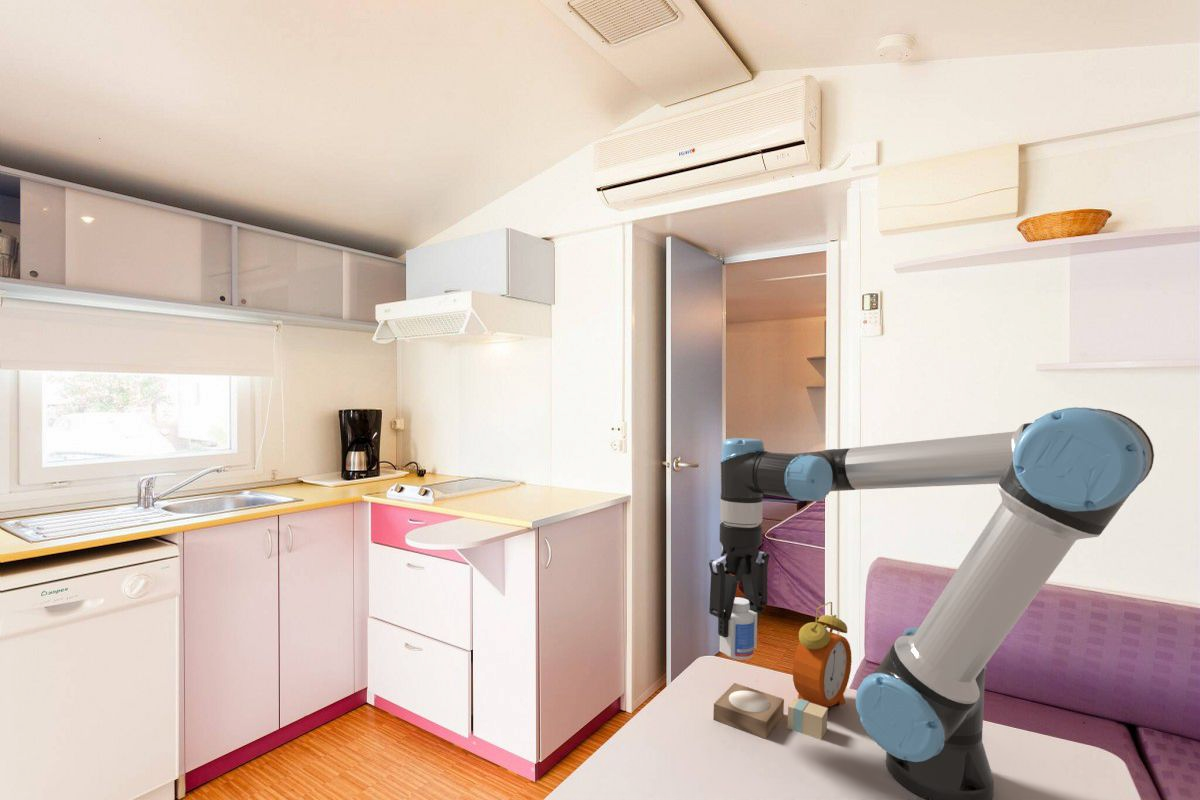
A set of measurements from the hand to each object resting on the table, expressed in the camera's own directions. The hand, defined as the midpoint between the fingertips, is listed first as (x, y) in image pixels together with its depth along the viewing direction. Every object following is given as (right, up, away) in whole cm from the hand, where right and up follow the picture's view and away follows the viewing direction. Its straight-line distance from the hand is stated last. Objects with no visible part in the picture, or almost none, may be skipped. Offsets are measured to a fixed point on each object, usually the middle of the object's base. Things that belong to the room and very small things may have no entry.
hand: (738, 649), depth 108 cm
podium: (+3, -14, +4) cm, 15 cm away
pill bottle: (0, -1, 0) cm, 1 cm away
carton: (+13, -15, 0) cm, 20 cm away
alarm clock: (+18, -15, +9) cm, 25 cm away
